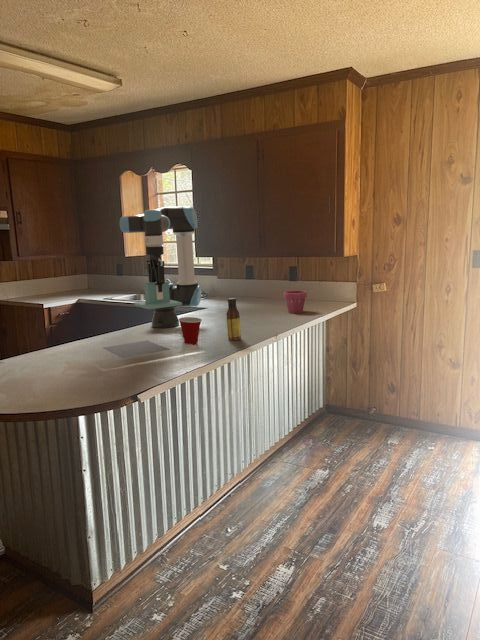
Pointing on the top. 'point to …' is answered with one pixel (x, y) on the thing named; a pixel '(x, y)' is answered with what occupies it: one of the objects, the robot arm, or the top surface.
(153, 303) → the lid
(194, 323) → the plastic cup
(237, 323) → the sauce bottle
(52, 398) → the top surface
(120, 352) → the mat
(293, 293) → the plant pot
